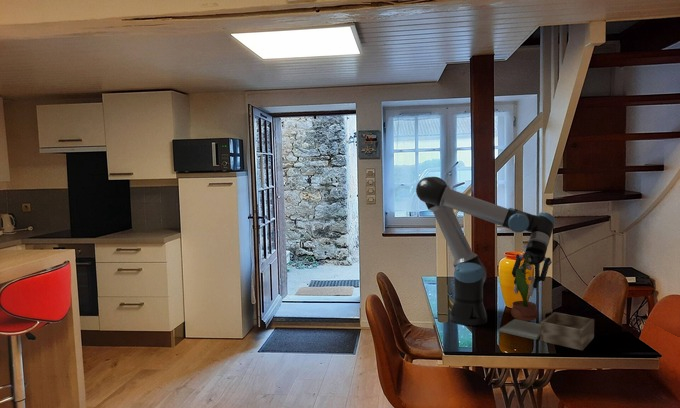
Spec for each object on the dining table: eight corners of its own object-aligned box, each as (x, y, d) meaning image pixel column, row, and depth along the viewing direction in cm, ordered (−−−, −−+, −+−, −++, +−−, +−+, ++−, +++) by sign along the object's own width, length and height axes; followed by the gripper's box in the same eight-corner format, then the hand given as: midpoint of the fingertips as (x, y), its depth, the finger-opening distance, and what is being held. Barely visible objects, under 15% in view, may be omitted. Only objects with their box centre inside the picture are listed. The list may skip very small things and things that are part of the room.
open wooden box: (540, 340, 161) (540, 322, 161) (554, 329, 173) (554, 312, 173) (582, 350, 152) (582, 330, 152) (593, 337, 164) (594, 319, 163)
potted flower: (516, 311, 181) (516, 251, 179) (542, 315, 174) (542, 253, 173) (507, 319, 171) (507, 255, 170) (534, 324, 165) (534, 258, 164)
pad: (499, 331, 172) (499, 328, 172) (514, 321, 184) (514, 318, 184) (536, 339, 162) (536, 337, 162) (549, 328, 174) (550, 326, 174)
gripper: (562, 253, 177) (549, 302, 165) (518, 248, 189) (502, 294, 177) (559, 241, 172) (544, 291, 161) (513, 238, 184) (497, 284, 173)
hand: (522, 292), depth 169 cm, fingers closed on potted flower, 5 cm apart
